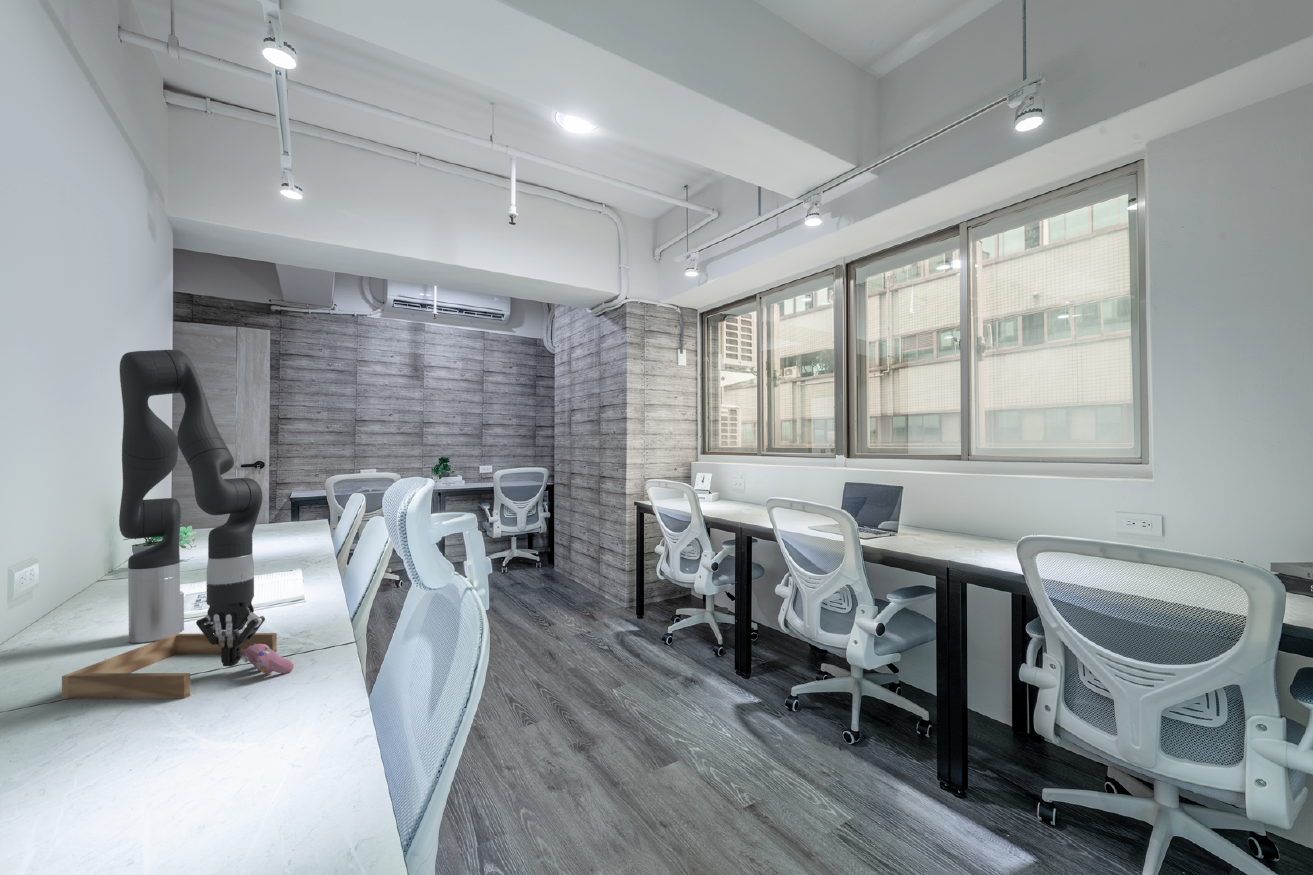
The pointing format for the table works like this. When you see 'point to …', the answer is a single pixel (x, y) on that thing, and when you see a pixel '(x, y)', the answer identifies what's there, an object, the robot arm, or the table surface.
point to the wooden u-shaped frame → (120, 683)
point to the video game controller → (266, 659)
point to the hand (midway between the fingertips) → (230, 664)
